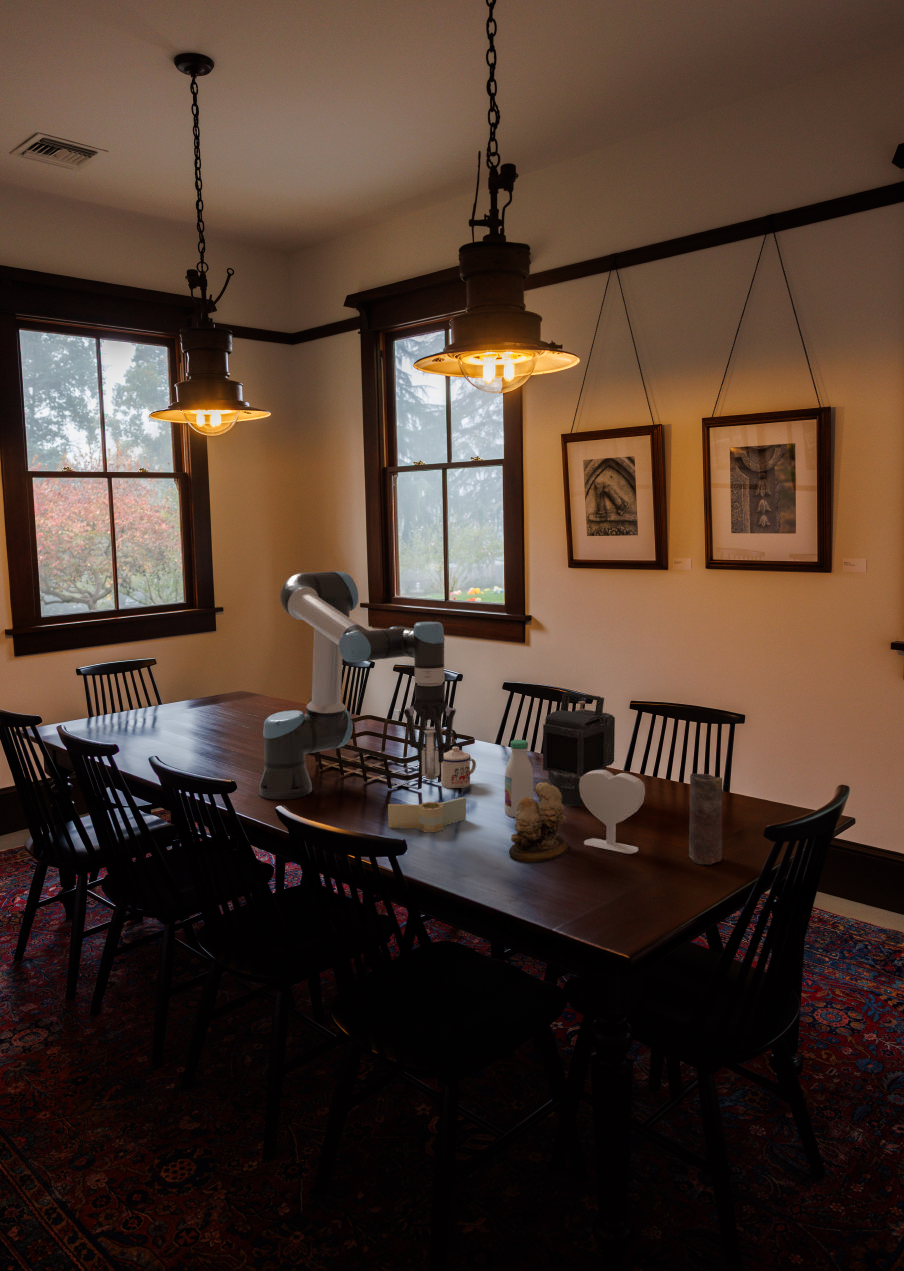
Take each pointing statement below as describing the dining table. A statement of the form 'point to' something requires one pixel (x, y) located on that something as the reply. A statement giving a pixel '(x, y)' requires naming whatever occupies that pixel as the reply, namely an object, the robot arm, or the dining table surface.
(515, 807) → the milk bottle
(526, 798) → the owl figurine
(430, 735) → the hinge pin
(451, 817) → the pale green hinge leaf
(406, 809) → the brass leaf
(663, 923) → the dining table surface
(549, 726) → the lantern
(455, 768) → the teacup with lid
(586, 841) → the heart sculpture
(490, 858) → the dining table surface
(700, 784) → the dark stone pillar
